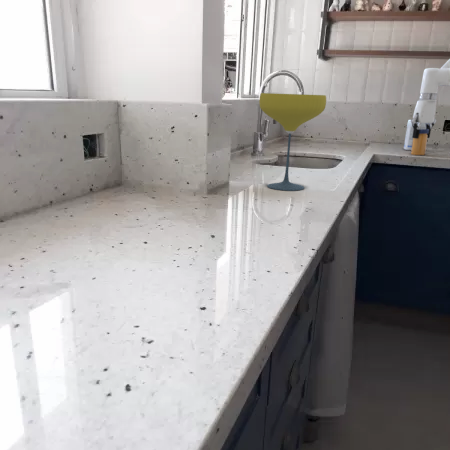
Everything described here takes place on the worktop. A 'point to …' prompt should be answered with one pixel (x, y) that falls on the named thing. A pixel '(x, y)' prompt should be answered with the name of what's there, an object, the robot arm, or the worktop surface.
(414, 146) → the honey jar
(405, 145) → the supplement tub
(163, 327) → the worktop surface
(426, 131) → the jar lid
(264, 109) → the cocktail glass
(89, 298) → the worktop surface
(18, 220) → the worktop surface
